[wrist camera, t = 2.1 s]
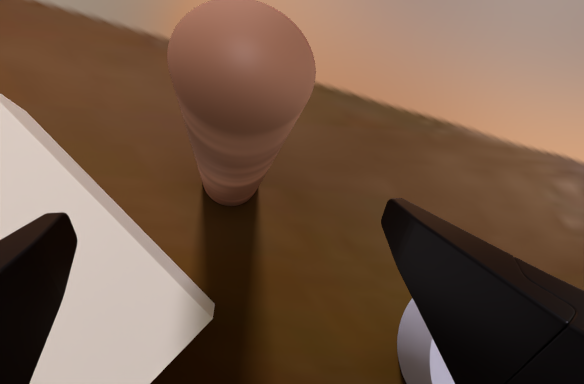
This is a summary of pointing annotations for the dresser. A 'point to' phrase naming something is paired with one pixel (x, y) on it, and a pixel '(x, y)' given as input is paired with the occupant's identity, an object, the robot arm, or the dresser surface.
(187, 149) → the dresser surface
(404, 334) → the wedge on round base
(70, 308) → the hole block
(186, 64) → the peg
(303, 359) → the dresser surface
